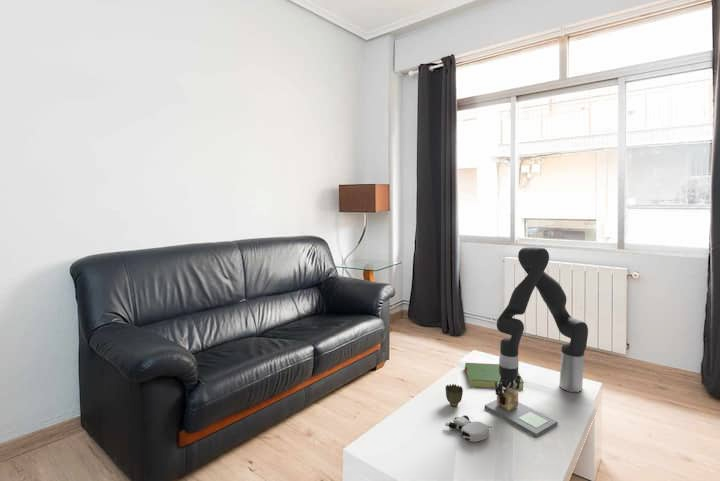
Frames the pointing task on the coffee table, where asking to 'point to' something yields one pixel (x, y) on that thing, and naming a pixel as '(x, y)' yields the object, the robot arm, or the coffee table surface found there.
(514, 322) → the robot arm
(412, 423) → the coffee table surface
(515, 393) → the cardboard box
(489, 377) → the hardcover book
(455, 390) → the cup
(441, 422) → the coffee table surface
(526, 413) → the post board
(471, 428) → the robot toy
